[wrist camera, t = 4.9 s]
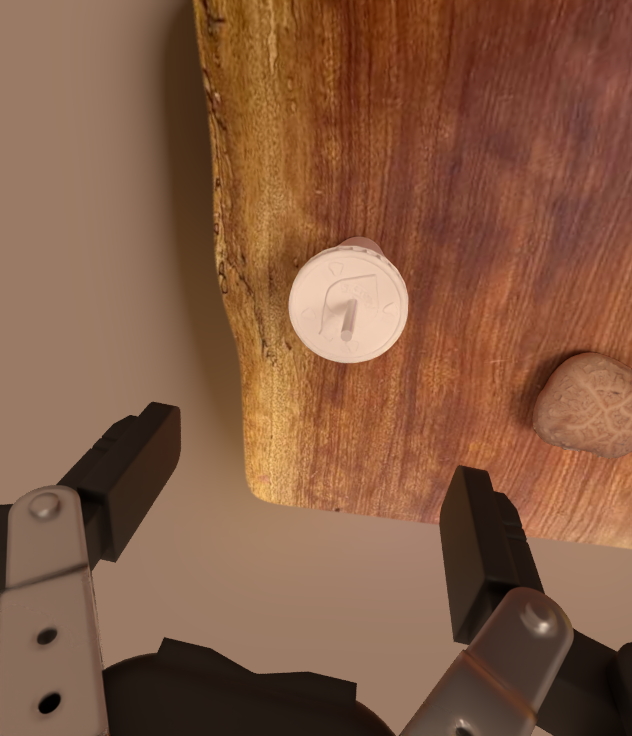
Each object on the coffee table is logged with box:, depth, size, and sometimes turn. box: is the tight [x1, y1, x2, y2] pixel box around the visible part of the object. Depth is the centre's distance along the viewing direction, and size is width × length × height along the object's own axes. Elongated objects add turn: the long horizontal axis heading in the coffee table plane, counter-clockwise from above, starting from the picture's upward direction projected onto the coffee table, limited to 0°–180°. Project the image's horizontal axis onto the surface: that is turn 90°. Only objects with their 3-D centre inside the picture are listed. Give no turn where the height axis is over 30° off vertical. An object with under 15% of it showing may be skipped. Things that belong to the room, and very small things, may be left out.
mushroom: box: [532, 352, 632, 459], centre depth 33 cm, size 8×6×8 cm
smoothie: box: [289, 237, 408, 363], centre depth 26 cm, size 6×6×14 cm
